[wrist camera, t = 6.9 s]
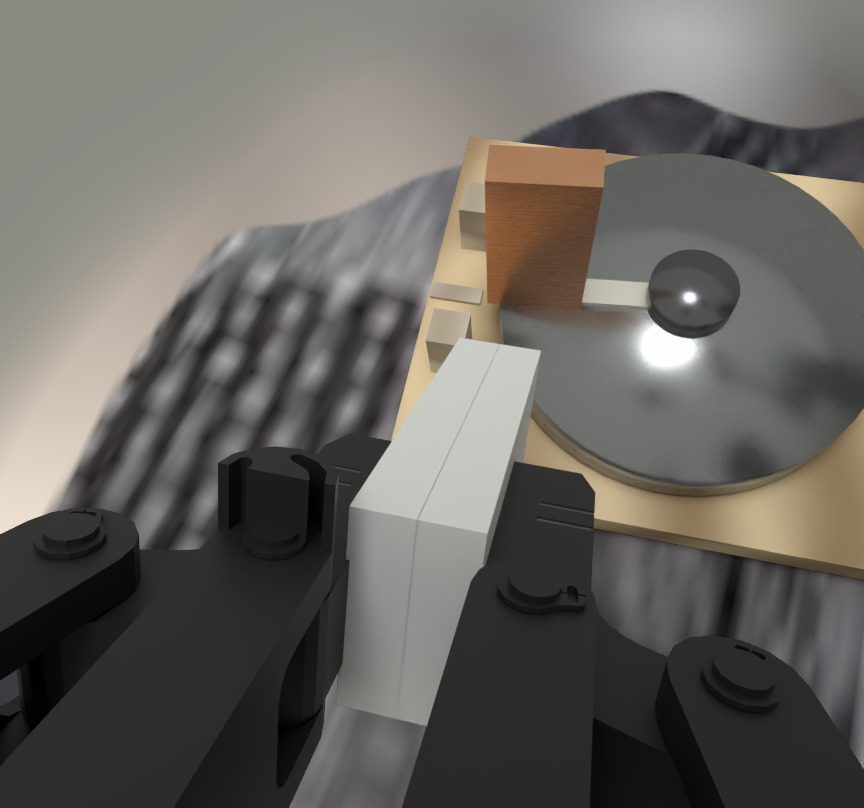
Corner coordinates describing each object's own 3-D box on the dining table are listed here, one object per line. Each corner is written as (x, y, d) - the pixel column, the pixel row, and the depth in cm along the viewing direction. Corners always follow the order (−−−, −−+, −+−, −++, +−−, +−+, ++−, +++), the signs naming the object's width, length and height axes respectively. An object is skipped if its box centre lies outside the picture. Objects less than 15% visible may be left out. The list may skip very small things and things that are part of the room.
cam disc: (851, 190, 37) (966, 9, 28) (885, 515, 31) (1046, 417, 22) (505, 173, 39) (507, -2, 30) (470, 474, 33) (461, 369, 24)
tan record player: (971, 217, 38) (1028, 153, 34) (993, 605, 31) (1069, 582, 27) (470, 156, 42) (467, 92, 38) (386, 488, 35) (371, 453, 31)
